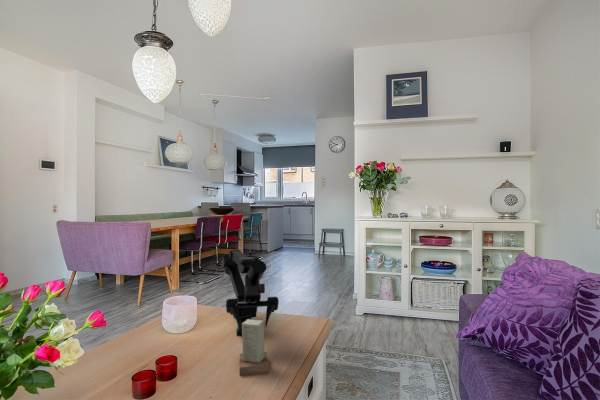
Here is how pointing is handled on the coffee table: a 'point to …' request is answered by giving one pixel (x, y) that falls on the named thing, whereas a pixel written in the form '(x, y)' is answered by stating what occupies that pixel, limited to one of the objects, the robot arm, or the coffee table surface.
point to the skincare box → (253, 340)
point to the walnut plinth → (253, 366)
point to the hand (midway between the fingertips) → (252, 327)
